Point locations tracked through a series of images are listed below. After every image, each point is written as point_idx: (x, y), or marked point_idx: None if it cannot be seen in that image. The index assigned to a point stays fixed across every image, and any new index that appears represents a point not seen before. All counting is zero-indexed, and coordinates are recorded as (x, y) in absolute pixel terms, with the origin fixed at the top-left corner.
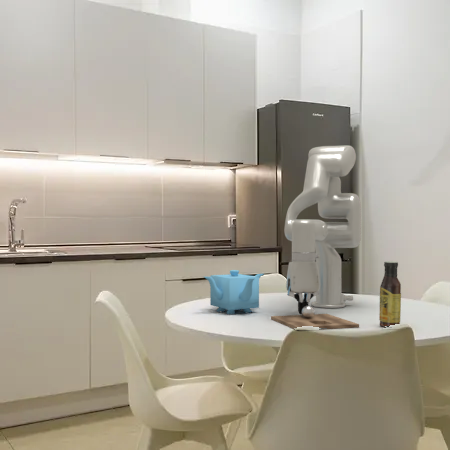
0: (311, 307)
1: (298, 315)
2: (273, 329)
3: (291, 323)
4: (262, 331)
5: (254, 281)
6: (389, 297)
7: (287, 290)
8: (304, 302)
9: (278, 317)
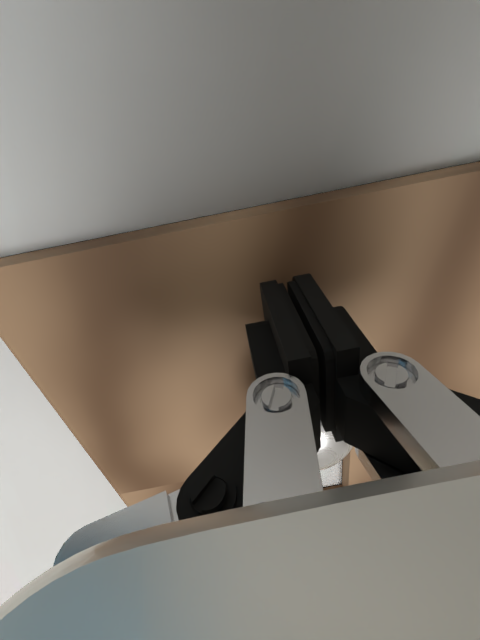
0: (336, 463)
1: (254, 251)
2: (56, 531)
3: None
4: (11, 557)
5: None
6: None
7: (6, 606)
8: (328, 418)
9: (49, 345)
